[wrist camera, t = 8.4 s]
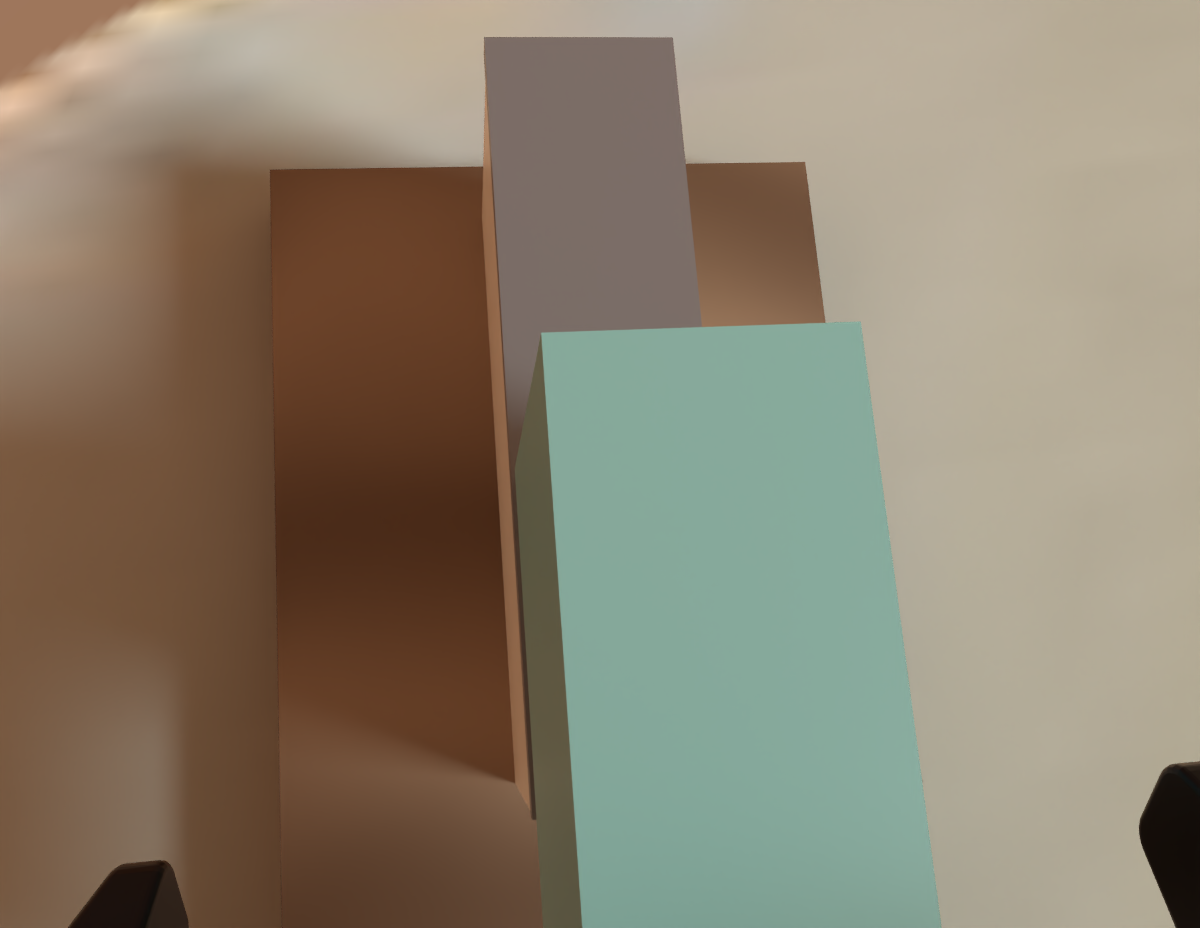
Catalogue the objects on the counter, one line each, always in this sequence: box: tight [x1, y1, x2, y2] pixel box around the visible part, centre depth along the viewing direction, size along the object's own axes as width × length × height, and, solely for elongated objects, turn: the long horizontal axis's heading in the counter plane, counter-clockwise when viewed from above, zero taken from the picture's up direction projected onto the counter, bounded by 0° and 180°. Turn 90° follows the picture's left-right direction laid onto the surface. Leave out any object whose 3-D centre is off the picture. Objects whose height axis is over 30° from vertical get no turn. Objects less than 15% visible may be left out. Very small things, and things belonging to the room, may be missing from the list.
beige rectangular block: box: [482, 37, 702, 820], centre depth 16 cm, size 10×3×6 cm, turn 4°
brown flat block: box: [270, 162, 825, 928], centre depth 19 cm, size 15×10×2 cm, turn 4°
